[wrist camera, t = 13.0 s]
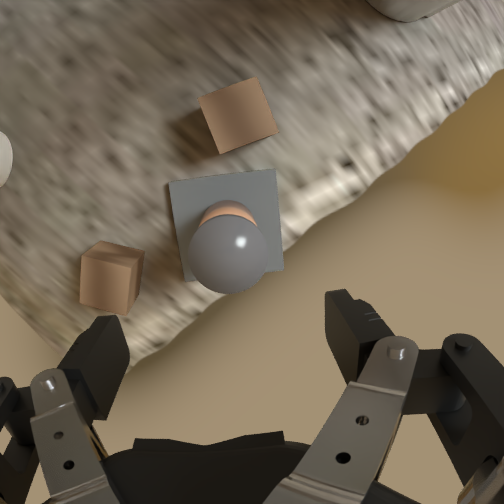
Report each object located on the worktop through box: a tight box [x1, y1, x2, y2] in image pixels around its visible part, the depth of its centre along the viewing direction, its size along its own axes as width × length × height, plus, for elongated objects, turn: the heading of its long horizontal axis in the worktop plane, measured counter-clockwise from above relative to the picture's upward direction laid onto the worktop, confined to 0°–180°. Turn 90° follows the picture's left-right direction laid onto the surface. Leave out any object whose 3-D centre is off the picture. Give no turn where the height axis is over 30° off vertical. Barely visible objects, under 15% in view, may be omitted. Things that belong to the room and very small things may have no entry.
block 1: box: [80, 241, 145, 316], centre depth 30 cm, size 5×5×5 cm
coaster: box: [168, 169, 284, 282], centre depth 31 cm, size 10×10×1 cm
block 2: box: [197, 77, 279, 154], centre depth 26 cm, size 5×5×5 cm
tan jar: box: [188, 200, 269, 294], centre depth 26 cm, size 6×6×9 cm
